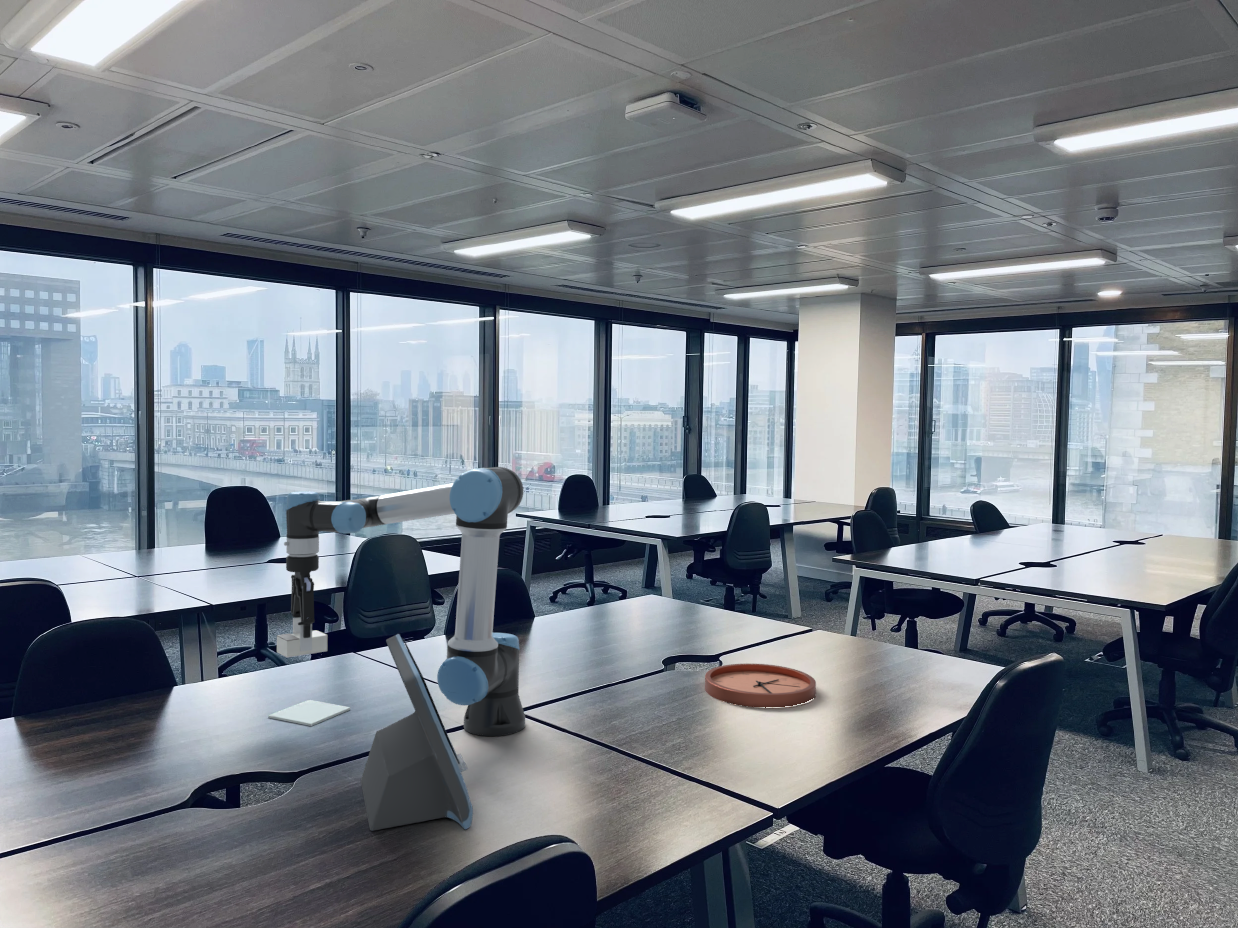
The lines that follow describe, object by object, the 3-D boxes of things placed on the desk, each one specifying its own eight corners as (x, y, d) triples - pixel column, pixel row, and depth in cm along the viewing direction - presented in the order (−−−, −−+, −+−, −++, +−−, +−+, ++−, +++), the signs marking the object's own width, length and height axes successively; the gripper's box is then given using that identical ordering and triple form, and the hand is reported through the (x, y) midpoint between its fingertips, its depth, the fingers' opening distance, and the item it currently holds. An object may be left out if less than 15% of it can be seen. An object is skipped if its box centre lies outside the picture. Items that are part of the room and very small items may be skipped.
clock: (717, 659, 267) (821, 669, 257) (717, 671, 267) (820, 683, 257) (693, 686, 238) (809, 700, 227) (693, 701, 238) (808, 715, 228)
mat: (350, 709, 225) (350, 707, 225) (311, 725, 212) (311, 723, 212) (308, 701, 230) (308, 699, 230) (268, 717, 217) (268, 715, 217)
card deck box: (316, 645, 219) (316, 629, 219) (327, 650, 214) (327, 634, 214) (276, 652, 212) (276, 635, 212) (287, 657, 207) (287, 640, 207)
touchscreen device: (482, 828, 159) (478, 668, 158) (372, 848, 152) (367, 681, 151) (450, 759, 192) (446, 626, 190) (358, 773, 185) (354, 635, 184)
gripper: (278, 550, 219) (278, 639, 220) (295, 561, 202) (295, 658, 203) (309, 548, 223) (308, 636, 224) (328, 559, 206) (327, 654, 207)
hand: (302, 646), depth 213 cm, fingers closed on card deck box, 7 cm apart
